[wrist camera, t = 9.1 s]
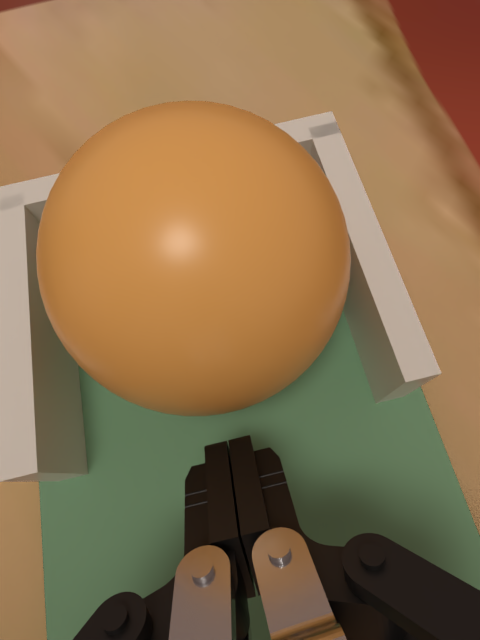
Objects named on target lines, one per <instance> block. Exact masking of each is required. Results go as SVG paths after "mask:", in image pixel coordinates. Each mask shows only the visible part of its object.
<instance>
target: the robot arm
mask: <svg viewBox="0 0 480 640" xmlns="http://www.w3.org/2000/svg"><path fill="white" fill-rule="evenodd" d="M228 443H229V446H228ZM228 443H227V441H223V442H219V443H215V444H211V445H206V446H205V447H204V451H205V463H203V464H199V465H195V466H191V468H190V470H189V473H188V475H187V477H186V479H185V518H184V558H183V559H182V560H181V562H180V563H179V565H178V567H177V570H176V574H175V576H174V577H173V578H172V579H171V580H170V581H169V582H168V583H167V584H166V585H164V586H163V587H161V588H160V589H158V590H156V591H155V592H153V593H151V594H150V595H148V596H146V597H145V598H143V599H142V597H141V596H139V595H138V594H136V593H134V592H121V593H118V594H115V595H113V596H111V597H110V598H108V599H107V600H105V601H104V602H103V603H102V604H101V605H100V606H99V607H98V608H97V610H96V611H95V612H94V613H93V615H92V616H91V617H90V618H89V620H88V621H87V622H86V623H85V625H84V626H83V627H82V628H81V630H80V631H79V632H78V633H77V635H76V636H75V637H74V638H73V640H252V633H251V627H250V615H249V608H248V600H247V599H248V598H252V597H256V593H255V586H256V589H257V592H258V596H260V595H261V599H262V603H263V607H264V611H265V615H266V619H267V624H268V628H269V632H270V636H271V640H480V590H478V589H477V588H475V587H473V586H471V585H469V584H468V583H466V582H464V581H462V580H461V579H459V578H457V577H455V576H454V575H452V574H450V573H448V572H447V571H445V570H443V569H441V568H440V567H438V566H436V565H434V564H432V563H431V562H429V561H427V560H425V559H424V558H422V557H420V556H418V555H417V554H415V553H413V552H411V551H410V550H408V549H406V548H404V547H402V546H401V545H399V544H397V543H395V542H394V541H392V540H390V539H388V538H387V537H384V536H382V535H379V534H375V533H363V534H359V535H356V536H354V537H353V538H351V539H350V540H349V541H348V542H347V543H346V545H345V546H344V547H343V546H329V545H323V544H320V543H317V542H315V541H313V540H312V539H310V538H309V537H308V536H306V535H305V533H304V532H303V531H302V529H301V528H300V525H299V522H298V519H297V515H296V512H295V508H294V505H293V502H292V498H291V495H290V491H289V488H288V484H287V481H286V477H285V474H284V471H283V467H282V464H281V460H280V457H279V456H278V455H277V454H276V453H275V452H274V451H273V450H272V449H271V448H270V447H269V448H265V449H260V450H256V451H254V449H253V444H252V440H251V436H250V435H247V436H243V437H239V438H235V439H231V440H228ZM253 579H254V580H253ZM254 582H255V586H254Z"/></svg>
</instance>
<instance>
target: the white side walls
mask: <svg viewBox="0 0 480 640" xmlns="http://www.w3.org/2000/svg"><path fill="white" fill-rule="evenodd" d="M274 125H276V126H277V127H279V128H280V129H282V130H283V131H285V132H286V133H288V134H289V135H290V136H291V137H292V138H293V139H294V140H296V141H297V142H298V143H299V144H300V145H301V146H302V147H304V149H305V150H306V151H307V152H308V153H309V154H310V155H311V156H312V158H313V159H314V160H315V161H316V162H317V163H318V165H319V166H320V168H321V169H322V171H323V172H324V174H325V175H326V177H327V178H328V180H329V181H330V183H331V185H332V187H333V189H334V191H335V193H336V195H337V197H338V199H339V202H340V205H341V208H342V211H343V214H344V217H345V220H346V225H347V230H348V235H349V241H350V254H351V266H350V281H349V286H348V292H347V297H346V301H345V304H344V307H343V311H344V314H345V317H346V320H347V323H348V325H349V328H350V331H351V334H352V337H353V340H354V343H355V346H356V348H357V351H358V354H359V357H360V360H361V363H362V366H363V368H364V371H365V374H366V377H367V380H368V383H369V386H370V388H371V391H372V394H373V397H374V400H375V403H380V402H384V401H388V400H392V399H396V398H400V397H404V396H406V395H407V394H409V393H411V392H412V391H414V390H416V389H417V388H419V387H420V386H422V385H424V384H425V383H427V382H429V381H430V380H432V379H433V378H435V377H437V376H438V375H440V374H441V371H440V369H439V366H438V364H437V361H436V359H435V357H434V354H433V352H432V349H431V347H430V345H429V342H428V340H427V338H426V335H425V333H424V330H423V328H422V326H421V323H420V321H419V318H418V316H417V314H416V311H415V309H414V306H413V304H412V302H411V299H410V297H409V294H408V292H407V290H406V287H405V285H404V282H403V280H402V278H401V275H400V273H399V271H398V268H397V266H396V263H395V261H394V259H393V256H392V254H391V251H390V249H389V247H388V244H387V242H386V239H385V237H384V235H383V232H382V230H381V227H380V225H379V223H378V220H377V218H376V215H375V213H374V211H373V208H372V206H371V204H370V201H369V199H368V196H367V194H366V192H365V189H364V187H363V184H362V182H361V180H360V177H359V175H358V172H357V170H356V168H355V165H354V163H353V160H352V158H351V156H350V153H349V151H348V149H347V146H346V144H345V141H344V139H343V137H342V134H341V132H340V129H339V127H338V125H337V122H336V120H335V117H334V115H333V113H332V111H331V112H326V113H322V114H317V115H313V116H309V117H304V118H300V119H296V120H291V121H287V122H282V123H278V124H274ZM59 174H60V173H59ZM59 174H54V175H50V176H45V177H41V178H37V179H32V180H28V181H23V182H19V183H15V184H10V185H6V186H1V187H0V482H17V481H62V480H66V479H70V478H74V477H79V476H83V475H87V474H88V467H87V456H86V445H85V434H84V423H83V412H82V401H81V390H80V379H79V368H78V364H77V362H76V361H75V360H74V359H73V358H72V356H71V355H70V354H69V353H68V351H67V350H66V349H65V347H64V346H63V344H62V342H61V341H60V339H59V338H58V336H57V334H56V333H55V331H54V329H53V326H52V324H51V322H50V320H49V318H48V315H47V313H46V310H45V307H44V304H43V300H42V297H41V294H40V288H39V282H38V276H37V263H36V247H37V237H38V229H39V225H40V220H41V216H42V212H43V209H44V206H45V203H46V201H47V198H48V196H49V193H50V190H51V188H52V187H53V185H54V183H55V181H56V179H57V178H58V176H59Z"/></svg>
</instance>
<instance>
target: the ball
mask: <svg viewBox="0 0 480 640" xmlns="http://www.w3.org/2000/svg"><path fill="white" fill-rule="evenodd" d="M36 263H37V276H38V282H39V288H40V294H41V297H42V300H43V304H44V307H45V310H46V313H47V315H48V318H49V320H50V322H51V324H52V326H53V329H54V331H55V333H56V334H57V336H58V338H59V339H60V341H61V342H62V344H63V346H64V347H65V349H66V350H67V351H68V353H69V354H70V355H71V356H72V358H73V359H74V360H75V361H76V362H77V364H78V365H79V366H80V367H81V368H82V369H83V370H84V371H85V372H86V373H87V374H88V375H90V376H91V377H92V378H93V379H94V380H95V381H97V382H98V383H99V384H101V385H102V386H103V387H105V388H106V389H107V390H109V391H110V392H112V393H114V394H116V395H117V396H119V397H121V398H123V399H125V400H126V401H128V402H131V403H133V404H136V405H138V406H141V407H143V408H146V409H150V410H153V411H157V412H161V413H165V414H172V415H180V416H210V415H219V414H225V413H229V412H233V411H237V410H241V409H244V408H247V407H249V406H252V405H254V404H257V403H260V402H262V401H264V400H266V399H268V398H269V397H271V396H273V395H275V394H277V393H279V392H280V391H281V390H283V389H284V388H286V387H287V386H288V385H290V384H291V383H292V382H294V381H295V380H296V379H297V378H298V377H299V376H300V375H301V374H303V373H304V372H305V371H306V370H307V369H308V368H309V367H310V366H311V364H312V363H313V362H314V361H315V360H316V358H317V357H318V356H319V355H320V353H321V352H322V351H323V349H324V347H325V346H326V344H327V343H328V341H329V339H330V338H331V336H332V334H333V332H334V330H335V328H336V326H337V324H338V321H339V319H340V317H341V314H342V311H343V307H344V304H345V301H346V297H347V292H348V286H349V281H350V266H351V254H350V241H349V235H348V230H347V225H346V220H345V217H344V214H343V211H342V208H341V205H340V202H339V199H338V197H337V195H336V193H335V191H334V189H333V187H332V185H331V183H330V181H329V180H328V178H327V177H326V175H325V174H324V172H323V171H322V169H321V168H320V166H319V165H318V163H317V162H316V161H315V160H314V159H313V158H312V156H311V155H310V154H309V153H308V152H307V151H306V150H305V149H304V147H302V146H301V145H300V144H299V143H298V142H297V141H296V140H294V139H293V138H292V137H291V136H290V135H289V134H288V133H286V132H285V131H283V130H282V129H280V128H279V127H277V126H276V125H274V124H272V123H271V122H269V121H268V120H265V119H263V118H261V117H259V116H257V115H255V114H253V113H251V112H248V111H245V110H242V109H239V108H236V107H233V106H230V105H225V104H219V103H214V102H208V101H177V102H167V103H162V104H158V105H153V106H149V107H145V108H142V109H140V110H137V111H135V112H132V113H130V114H127V115H124V116H123V117H121V118H119V119H117V120H116V121H114V122H112V123H110V124H108V125H107V126H105V127H104V128H102V129H101V130H100V131H99V132H97V133H96V134H95V135H93V136H92V137H91V138H89V139H88V140H87V141H86V142H85V143H84V144H83V145H82V146H81V147H80V148H79V149H78V150H77V151H76V152H75V153H74V154H73V156H72V157H71V158H70V160H69V161H68V163H67V164H66V165H65V167H64V168H63V169H62V171H61V172H60V174H59V176H58V178H57V179H56V181H55V183H54V185H53V187H52V188H51V190H50V193H49V196H48V198H47V201H46V203H45V206H44V209H43V212H42V216H41V220H40V225H39V229H38V237H37V247H36Z"/></svg>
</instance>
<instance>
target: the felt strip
mask: <svg viewBox="0 0 480 640" xmlns="http://www.w3.org/2000/svg"><path fill="white" fill-rule="evenodd" d="M78 368H79V379H80V390H81V401H82V412H83V423H84V434H85V445H86V456H87V467H88V474H87V475H83V476H79V477H74V478H70V479H66V480H62V481H39V490H40V510H41V529H42V549H43V569H44V589H45V608H46V628H47V640H73V638H74V637H75V636H76V635H77V633H78V632H79V631H80V630H81V628H82V627H83V626H84V625H85V623H86V622H87V621H88V620H89V618H90V617H91V616H92V615H93V613H94V612H95V611H96V610H97V608H98V607H99V606H100V605H101V604H102V603H103V602H104V601H105V600H107V599H108V598H110V597H111V596H113V595H115V594H118V593H121V592H134V593H136V594H138V595H139V596H141V597H142V599H143V598H145V597H146V596H148V595H150V594H151V593H153V592H155V591H156V590H158V589H160V588H161V587H163V586H164V585H166V584H167V583H168V582H169V581H170V580H171V579H172V578H173V577H174V576H175V574H176V570H177V567H178V565H179V563H180V562H181V560H182V559H183V558H184V518H185V479H186V477H187V475H188V473H189V470H190V468H191V466H195V465H199V464H203V463H205V451H204V447H205V446H206V445H211V444H215V443H219V442H223V441H227V443H228V440H231V439H235V438H239V437H243V436H247V435H250V436H251V440H252V444H253V449H254V451H256V450H260V449H265V448H269V447H270V448H271V449H272V450H273V451H274V452H275V453H276V454H277V455H278V456H279V457H280V460H281V464H282V467H283V471H284V474H285V477H286V481H287V484H288V488H289V491H290V495H291V498H292V502H293V505H294V508H295V512H296V515H297V519H298V522H299V525H300V528H301V529H302V531H303V532H304V533H305V535H306V536H308V537H309V538H310V539H312V540H313V541H315V542H317V543H320V544H323V545H329V546H343V547H344V546H345V545H346V543H347V542H348V541H349V540H350V539H351V538H353V537H354V536H356V535H359V534H363V533H375V534H379V535H382V536H384V537H387V538H388V539H390V540H392V541H394V542H395V543H397V544H399V545H401V546H402V547H404V548H406V549H408V550H410V551H411V552H413V553H415V554H417V555H418V556H420V557H422V558H424V559H425V560H427V561H429V562H431V563H432V564H434V565H436V566H438V567H440V568H441V569H443V570H445V571H447V572H448V573H450V574H452V575H454V576H455V577H457V578H459V579H461V580H462V581H464V582H466V583H468V584H469V585H471V586H473V587H475V588H477V589H478V590H480V536H479V533H478V531H477V528H476V526H475V523H474V521H473V518H472V516H471V513H470V510H469V508H468V505H467V503H466V500H465V498H464V495H463V493H462V490H461V488H460V485H459V483H458V480H457V477H456V475H455V472H454V470H453V467H452V465H451V462H450V460H449V457H448V455H447V452H446V450H445V447H444V445H443V442H442V439H441V437H440V434H439V432H438V429H437V427H436V424H435V422H434V419H433V417H432V414H431V412H430V409H429V407H428V404H427V401H426V399H425V396H424V394H423V391H422V389H421V386H420V387H419V388H417V389H416V390H414V391H412V392H411V393H409V394H407V395H406V396H404V397H400V398H396V399H392V400H388V401H384V402H380V403H375V400H374V397H373V394H372V391H371V388H370V386H369V383H368V380H367V377H366V374H365V371H364V368H363V366H362V363H361V360H360V357H359V354H358V351H357V348H356V346H355V343H354V340H353V337H352V334H351V331H350V328H349V325H348V323H347V320H346V317H345V314H344V311H342V314H341V317H340V319H339V321H338V324H337V326H336V328H335V330H334V332H333V334H332V336H331V338H330V339H329V341H328V343H327V344H326V346H325V347H324V349H323V351H322V352H321V353H320V355H319V356H318V357H317V358H316V360H315V361H314V362H313V363H312V364H311V366H310V367H309V368H308V369H307V370H306V371H305V372H304V373H303V374H301V375H300V376H299V377H298V378H297V379H296V380H295V381H294V382H292V383H291V384H290V385H288V386H287V387H286V388H284V389H283V390H281V391H280V392H279V393H277V394H275V395H273V396H271V397H269V398H268V399H266V400H264V401H262V402H260V403H257V404H254V405H252V406H249V407H247V408H244V409H241V410H237V411H233V412H229V413H225V414H219V415H210V416H180V415H172V414H165V413H161V412H157V411H153V410H150V409H146V408H143V407H141V406H138V405H136V404H133V403H131V402H128V401H126V400H125V399H123V398H121V397H119V396H117V395H116V394H114V393H112V392H110V391H109V390H107V389H106V388H105V387H103V386H102V385H101V384H99V383H98V382H97V381H95V380H94V379H93V378H92V377H91V376H90V375H88V374H87V373H86V372H85V371H84V370H83V369H82V368H81V367H80V366H79V365H78ZM228 446H229V443H228ZM253 580H254V579H253ZM254 586H255V582H254ZM255 593H256V597H252V598H248V599H247V600H248V608H249V615H250V627H251V633H252V640H271V636H270V632H269V628H268V624H267V619H266V615H265V611H264V607H263V603H262V599H261V595H260V596H258V592H257V589H256V586H255Z"/></svg>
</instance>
